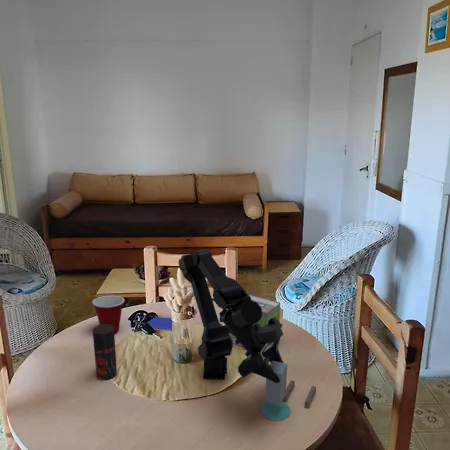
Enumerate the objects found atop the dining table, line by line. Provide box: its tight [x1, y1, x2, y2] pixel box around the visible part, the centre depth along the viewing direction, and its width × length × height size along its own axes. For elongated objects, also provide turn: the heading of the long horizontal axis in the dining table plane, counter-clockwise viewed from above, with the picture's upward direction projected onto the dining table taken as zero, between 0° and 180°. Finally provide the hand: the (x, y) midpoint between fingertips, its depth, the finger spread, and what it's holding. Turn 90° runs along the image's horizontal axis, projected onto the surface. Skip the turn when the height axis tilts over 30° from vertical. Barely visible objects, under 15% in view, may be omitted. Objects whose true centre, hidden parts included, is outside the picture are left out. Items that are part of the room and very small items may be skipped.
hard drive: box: [137, 316, 173, 332], centre depth 167 cm, size 2×8×12 cm
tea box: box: [227, 294, 281, 347], centre depth 153 cm, size 15×10×15 cm
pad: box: [259, 401, 292, 421], centre depth 121 cm, size 8×8×1 cm
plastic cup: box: [92, 295, 125, 335], centre depth 160 cm, size 11×11×12 cm
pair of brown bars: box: [282, 379, 317, 409], centre depth 127 cm, size 7×8×2 cm
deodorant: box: [92, 324, 118, 381], centre depth 134 cm, size 6×6×15 cm
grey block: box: [264, 361, 288, 405], centre depth 119 cm, size 4×5×9 cm
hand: (281, 376), depth 118 cm, fingers closed on grey block, 5 cm apart
